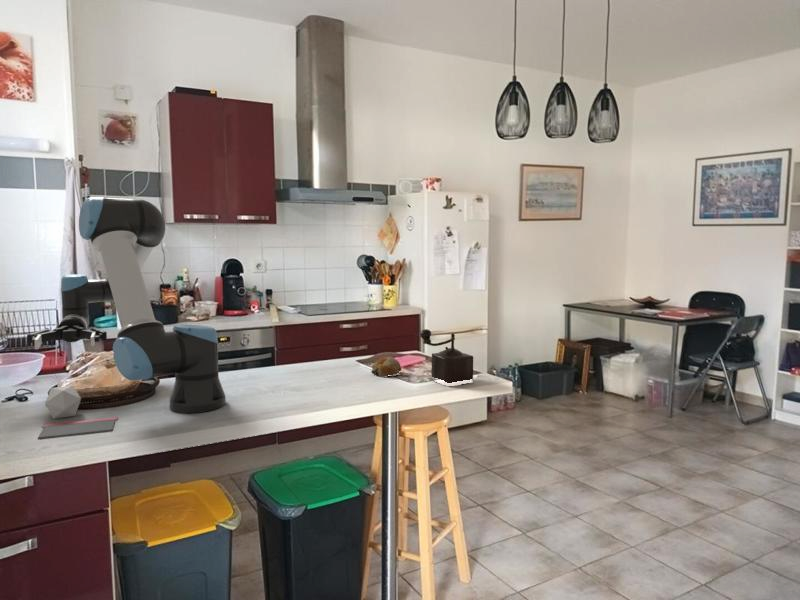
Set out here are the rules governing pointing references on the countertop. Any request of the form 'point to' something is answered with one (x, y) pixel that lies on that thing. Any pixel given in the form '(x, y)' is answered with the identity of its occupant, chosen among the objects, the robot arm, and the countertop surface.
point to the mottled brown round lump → (386, 367)
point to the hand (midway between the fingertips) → (64, 343)
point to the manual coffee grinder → (449, 361)
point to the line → (80, 422)
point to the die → (63, 402)
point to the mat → (76, 429)
